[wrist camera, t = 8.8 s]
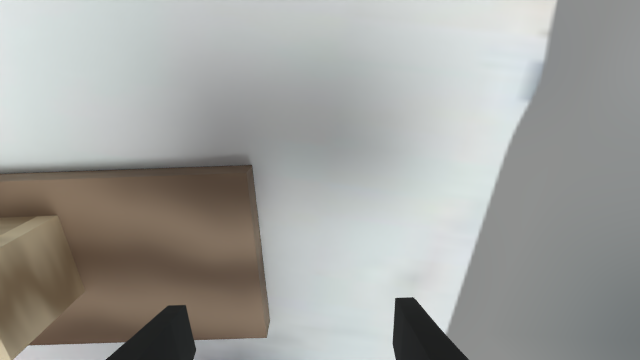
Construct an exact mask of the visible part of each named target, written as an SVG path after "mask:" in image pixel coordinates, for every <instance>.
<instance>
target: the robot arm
mask: <svg viewBox="0 0 640 360" xmlns="http://www.w3.org/2000/svg"><path fill="white" fill-rule="evenodd" d="M393 348H394V353H395V357H396V360H469V359H468V358H467V357H466V356H465V355H464V354H463V353H462V352H461V351H460V350H459V349H458V348H457V347H456V346H455V344H454V343H453V342H452V341H451V340H450V339H449V338H448V337H447V336H446V335H445V334H444V332H443V331H442V330H441V329H440V328H439V327H438V326H437V324H436V323H435V322H434V321H433V320H432V319H431V317H430V316H429V315H428V314H427V313H426V311H425V310H424V309H423V308H422V307H421V305H420V304H419V303H418V302H417V300H416V299H414V298H413V297H412V298H395V314H394V331H393ZM195 352H196V347H195V343H194V339H193V334H192V330H191V326H190V321H189V317H188V313H187V308H186V305H168V306H167V307H166V308H165V309H163V310H162V311H161V312H160V313H159V314H157V315H156V316H155V317H154V318H153V319H152V320H151V321H149V322H148V323H147V324H146V325H145V326H144V327H143V328H142V329H140V330H139V331H138V332H137V333H136V334H135V335H134V336H133V337H131V338H130V339H129V340H128V341H127V342H126V343H124V344H123V345H122V346H121V347H120V348H119V349H118V350H116V351H115V352H114V353H113V354H112V355H111V356H109V357H108V358H107V359H106V360H193V359H194V355H195Z"/></svg>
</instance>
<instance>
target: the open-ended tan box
mask: <svg viewBox="0 0 640 360" xmlns="http://www.w3.org/2000/svg"><path fill="white" fill-rule="evenodd" d="M84 292H85V289H84V286H83V283H82V280H81V278H80V275H79V272H78V269H77V267H76V264H75V261H74V259H73V256H72V253H71V250H70V248H69V245H68V242H67V239H66V237H65V234H64V231H63V229H62V226H61V223H60V220H59V218H58V216H32V217H6V218H0V360H13V359H14V358H15V357H16V356H17V355H18V354H19V353H20V352H21V351H22V350H24V349H25V348H26V347H27V346H28V345H29V344H30V343H31V342H32V341H33V340H34V339H35V338H36V337H37V336H38V335H39V334H40V333H42V332H43V331H44V330H45V329H46V328H47V327H48V326H49V325H50V324H51V323H52V322H53V321H54V320H55V319H56V318H57V317H58V316H60V315H61V314H62V313H63V312H64V311H65V310H66V309H67V308H68V307H69V306H70V305H71V304H72V303H73V302H74V301H75V300H76V299H78V298H79V297H80V296H81V295H82V294H83V293H84Z"/></svg>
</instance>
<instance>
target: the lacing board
mask: <svg viewBox="0 0 640 360" xmlns="http://www.w3.org/2000/svg"><path fill="white" fill-rule="evenodd" d="M32 216H58V218H59V220H60V223H61V226H62V229H63V231H64V234H65V237H66V239H67V242H68V245H69V248H70V250H71V253H72V256H73V259H74V261H75V264H76V267H77V269H78V272H79V275H80V278H81V280H82V283H83V286H84V289H85V292H84V293H83V294H82V295H81V296H80V297H79V298H78V299H76V300H75V301H74V302H73V303H72V304H71V305H70V306H69V307H68V308H67V309H66V310H65V311H64V312H63V313H62V314H61V315H60V316H58V317H57V318H56V319H55V320H54V321H53V322H52V323H51V324H50V325H49V326H48V327H47V328H46V329H45V330H44V331H43V332H42V333H40V334H39V335H38V336H37V337H36V338H35V339H34V340H33V341H32V342H31V343H30V344H29V345H54V344H86V343H117V342H127V341H128V340H129V339H130V338H131V337H133V336H134V335H135V334H136V333H137V332H138V331H139V330H140V329H142V328H143V327H144V326H145V325H146V324H147V323H148V322H149V321H151V320H152V319H153V318H154V317H155V316H156V315H157V314H159V313H160V312H161V311H162V310H163V309H165V308H166V307H167V306H168V305H186V308H187V313H188V317H189V321H190V326H191V330H192V334H193V339H194V340H210V339H242V338H267V333H268V328H269V323H270V318H269V309H268V300H267V292H266V283H265V274H264V266H263V257H262V248H261V240H260V231H259V222H258V213H257V205H256V196H255V187H254V179H253V170H252V165H240V166H212V167H183V168H155V169H126V170H98V171H69V172H41V173H12V174H0V218H6V217H32Z"/></svg>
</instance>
